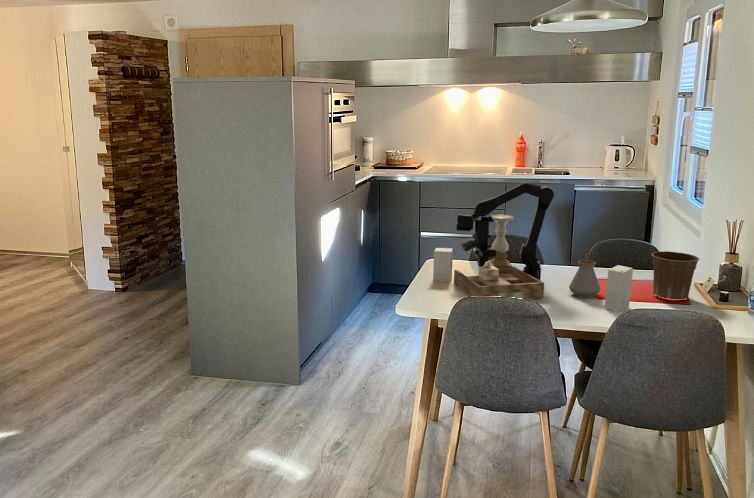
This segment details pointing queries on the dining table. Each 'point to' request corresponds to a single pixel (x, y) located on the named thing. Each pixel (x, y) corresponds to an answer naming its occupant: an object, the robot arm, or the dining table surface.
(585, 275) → the coffee pot
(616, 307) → the skincare box
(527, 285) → the box
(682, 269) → the plant pot
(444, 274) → the supplement box
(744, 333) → the dining table surface
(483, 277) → the birch block
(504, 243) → the candle holder
